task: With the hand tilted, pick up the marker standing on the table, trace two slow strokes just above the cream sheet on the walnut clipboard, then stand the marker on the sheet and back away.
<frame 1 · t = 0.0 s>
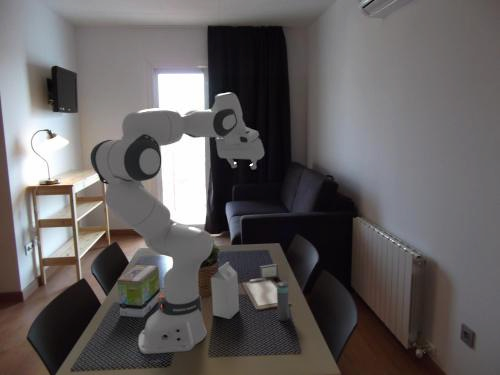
hand: (244, 168, 149), 52 cm above the table, tool tilted 20°, fingers open, 8 cm apart
marker: (283, 318, 137), on the table
word card: (268, 278, 171), on the table
milk carton: (226, 313, 142), on the table
tea box: (141, 307, 149), on the table
clipboard: (264, 293, 156), on the table
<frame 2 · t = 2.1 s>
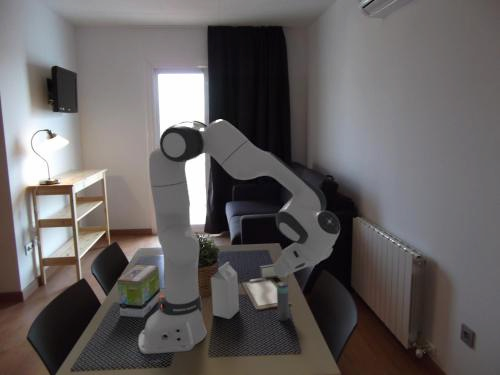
hand: (296, 270, 127), 21 cm above the table, tool tilted 40°, fingers open, 8 cm apart
nothing on the table moved.
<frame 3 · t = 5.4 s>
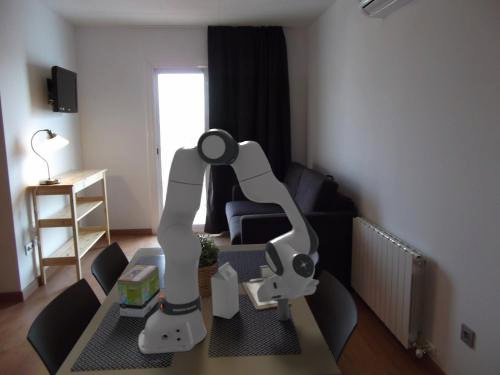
hand: (282, 298, 136), 7 cm above the table, tool tilted 45°, fingers closed on marker, 4 cm apart
marker: (283, 318, 137), on the table, touching gripper
everything else where it was.
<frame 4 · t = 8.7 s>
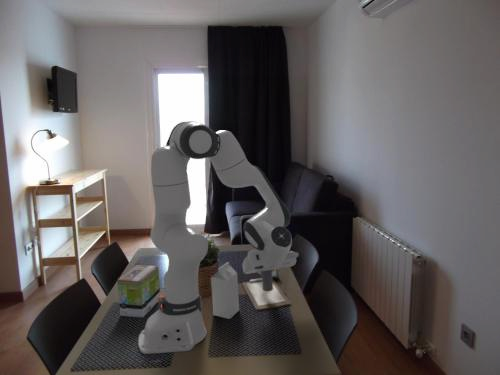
hand: (266, 270, 149), 12 cm above the table, tool tilted 45°, fingers closed on marker, 4 cm apart
marker: (267, 288, 149), point 5 cm above the table, touching gripper
everything else where it was.
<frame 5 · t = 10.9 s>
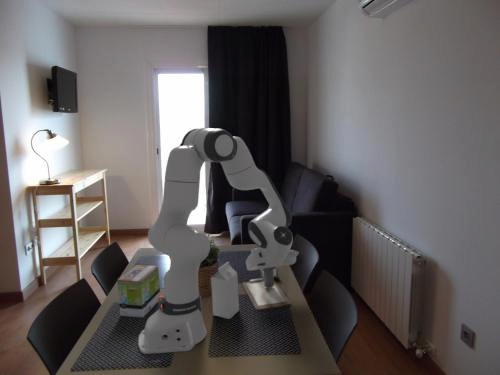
hand: (268, 268, 158), 9 cm above the table, tool tilted 45°, fingers closed on marker, 4 cm apart
marker: (269, 285, 159), point 2 cm above the table, touching gripper
everything else where it was.
when the fingers open (9 cm above the table, at t = 12.4 s): marker stays where it is, resting on clipboard.
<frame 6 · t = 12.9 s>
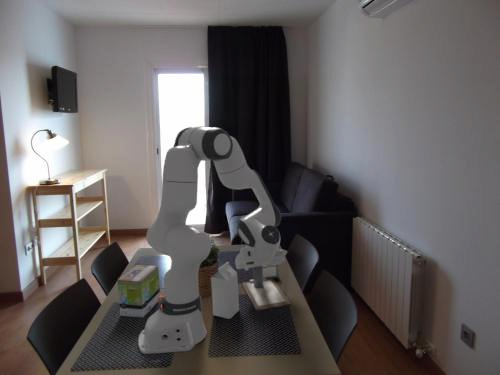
hand: (257, 267, 160), 9 cm above the table, tool tilted 45°, fingers open, 8 cm apart
marker: (258, 286, 161), point 1 cm above the table, touching clipboard
everything else where it was.
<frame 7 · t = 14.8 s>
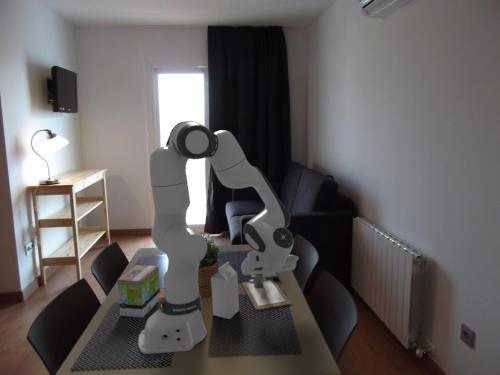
hand: (265, 273, 146), 12 cm above the table, tool tilted 45°, fingers open, 8 cm apart
nothing on the table moved.
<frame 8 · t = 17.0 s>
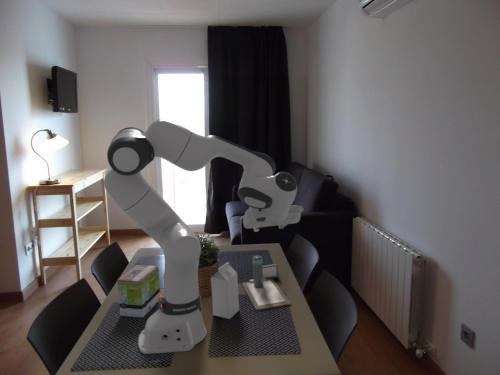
hand: (268, 228, 139), 31 cm above the table, tool tilted 45°, fingers open, 8 cm apart
nothing on the table moved.
at the end: marker inside the target area (6.1 cm from its centre), point 0.8 cm above the table; marker tilted 0°; the gripper is holding nothing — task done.
